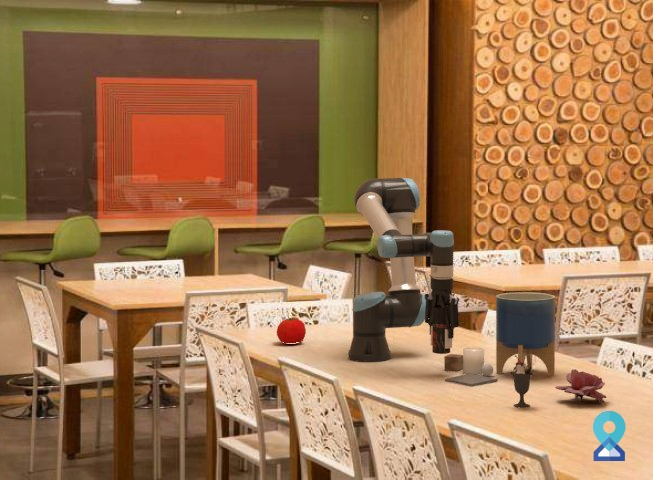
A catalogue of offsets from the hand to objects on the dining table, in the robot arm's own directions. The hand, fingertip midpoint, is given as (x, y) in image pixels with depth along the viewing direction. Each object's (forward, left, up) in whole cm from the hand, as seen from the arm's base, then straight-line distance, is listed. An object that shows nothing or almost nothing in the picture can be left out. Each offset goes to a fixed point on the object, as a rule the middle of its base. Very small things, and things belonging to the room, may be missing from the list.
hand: (441, 346), depth 415 cm
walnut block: (-3, +10, -10) cm, 14 cm away
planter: (+19, +21, -10) cm, 30 cm away
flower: (+58, +1, -10) cm, 58 cm away
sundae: (+49, -16, -10) cm, 52 cm away
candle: (+5, +11, -10) cm, 15 cm away
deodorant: (0, 0, -2) cm, 2 cm away
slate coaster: (+14, 0, -10) cm, 17 cm away
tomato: (-82, +2, -10) cm, 83 cm away
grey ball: (+12, +10, -10) cm, 18 cm away
